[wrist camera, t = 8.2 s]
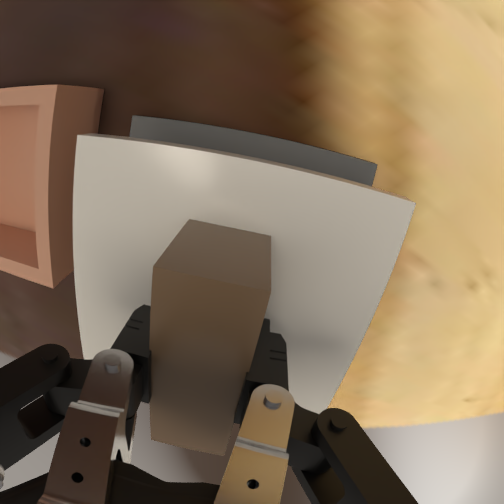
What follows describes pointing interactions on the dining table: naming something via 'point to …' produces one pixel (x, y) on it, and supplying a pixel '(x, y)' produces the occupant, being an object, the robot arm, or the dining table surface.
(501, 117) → the dining table surface
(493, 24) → the dining table surface
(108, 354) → the robot arm
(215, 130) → the mat
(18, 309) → the dining table surface
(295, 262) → the lid
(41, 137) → the dish
